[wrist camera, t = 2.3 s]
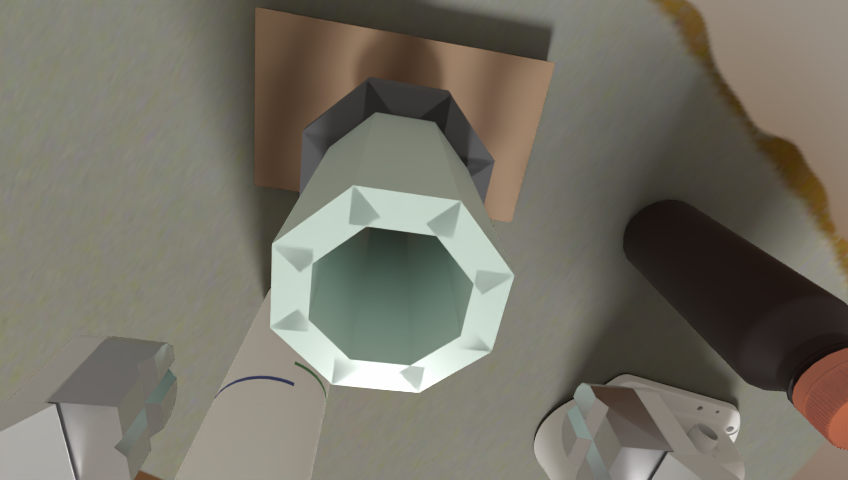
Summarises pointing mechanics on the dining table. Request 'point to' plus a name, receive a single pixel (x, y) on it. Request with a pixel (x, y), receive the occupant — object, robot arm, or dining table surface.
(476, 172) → the o ring
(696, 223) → the bottle
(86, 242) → the dining table surface
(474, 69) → the pipe stand
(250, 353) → the cylindrical container
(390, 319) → the sleeve
